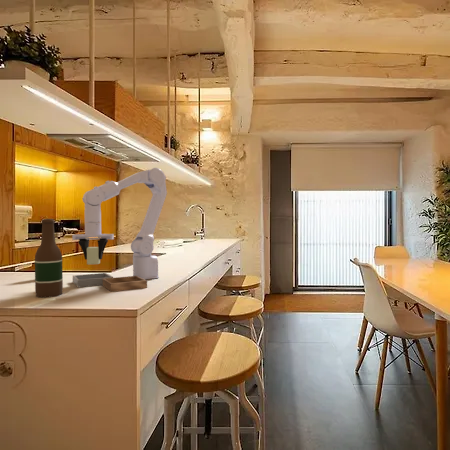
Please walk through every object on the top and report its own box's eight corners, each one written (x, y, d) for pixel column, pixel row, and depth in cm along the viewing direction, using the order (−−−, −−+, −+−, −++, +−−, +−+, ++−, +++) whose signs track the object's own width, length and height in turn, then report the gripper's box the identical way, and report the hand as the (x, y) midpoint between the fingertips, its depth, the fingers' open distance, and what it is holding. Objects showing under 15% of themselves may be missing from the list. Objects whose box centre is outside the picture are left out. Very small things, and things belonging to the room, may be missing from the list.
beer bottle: (68, 293, 118) (67, 218, 118) (49, 298, 111) (48, 218, 111) (49, 292, 121) (47, 218, 120) (29, 296, 114) (28, 219, 113)
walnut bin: (136, 282, 137) (136, 275, 137) (147, 287, 127) (147, 280, 127) (102, 285, 131) (102, 278, 131) (111, 291, 121) (111, 283, 121)
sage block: (98, 264, 135) (98, 247, 135) (87, 264, 134) (86, 248, 134) (100, 262, 139) (99, 246, 139) (88, 263, 138) (88, 247, 138)
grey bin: (105, 279, 145) (105, 272, 145) (113, 283, 135) (113, 277, 135) (72, 282, 139) (72, 275, 139) (78, 287, 129) (77, 280, 129)
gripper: (115, 222, 141) (116, 257, 141) (76, 222, 140) (77, 258, 140) (110, 222, 134) (111, 259, 134) (69, 222, 133) (70, 260, 133)
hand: (93, 259), depth 137 cm, fingers closed on sage block, 4 cm apart
